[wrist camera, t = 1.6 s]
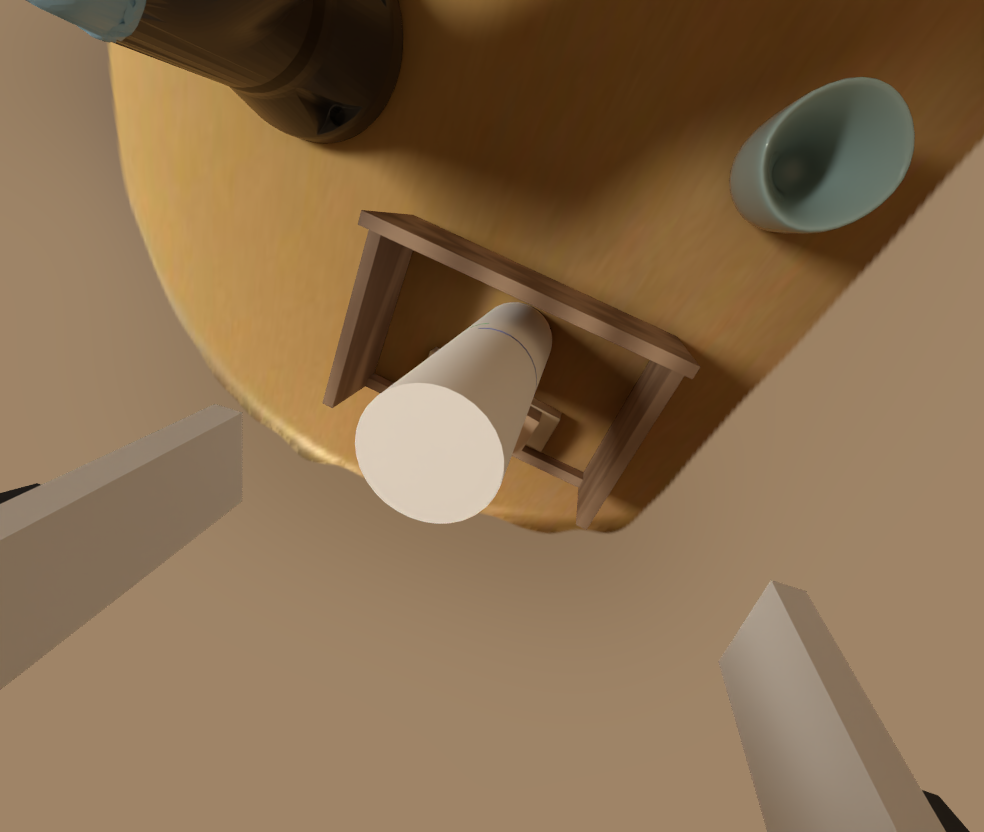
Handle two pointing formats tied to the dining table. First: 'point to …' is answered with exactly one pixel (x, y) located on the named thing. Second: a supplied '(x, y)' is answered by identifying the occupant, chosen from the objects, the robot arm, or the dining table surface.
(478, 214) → the dining table surface
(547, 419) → the offcut bottom
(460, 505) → the cylindrical container
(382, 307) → the rack
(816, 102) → the cup
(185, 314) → the dining table surface
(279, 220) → the dining table surface
